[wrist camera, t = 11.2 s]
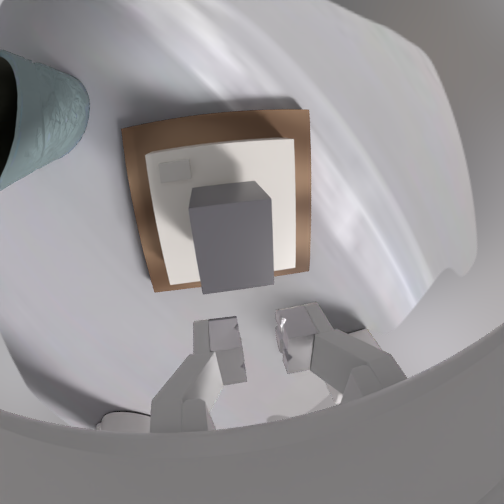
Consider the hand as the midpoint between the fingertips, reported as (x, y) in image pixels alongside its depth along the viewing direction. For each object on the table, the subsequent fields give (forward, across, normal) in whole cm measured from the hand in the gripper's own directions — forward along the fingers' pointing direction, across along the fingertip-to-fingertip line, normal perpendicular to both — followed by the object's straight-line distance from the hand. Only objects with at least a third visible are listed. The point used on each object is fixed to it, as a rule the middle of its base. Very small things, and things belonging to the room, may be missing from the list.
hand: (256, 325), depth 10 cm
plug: (+13, 0, 0) cm, 13 cm away
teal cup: (+17, -16, +11) cm, 26 cm away
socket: (+16, 0, 0) cm, 16 cm away
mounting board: (+17, 0, 0) cm, 17 cm away
